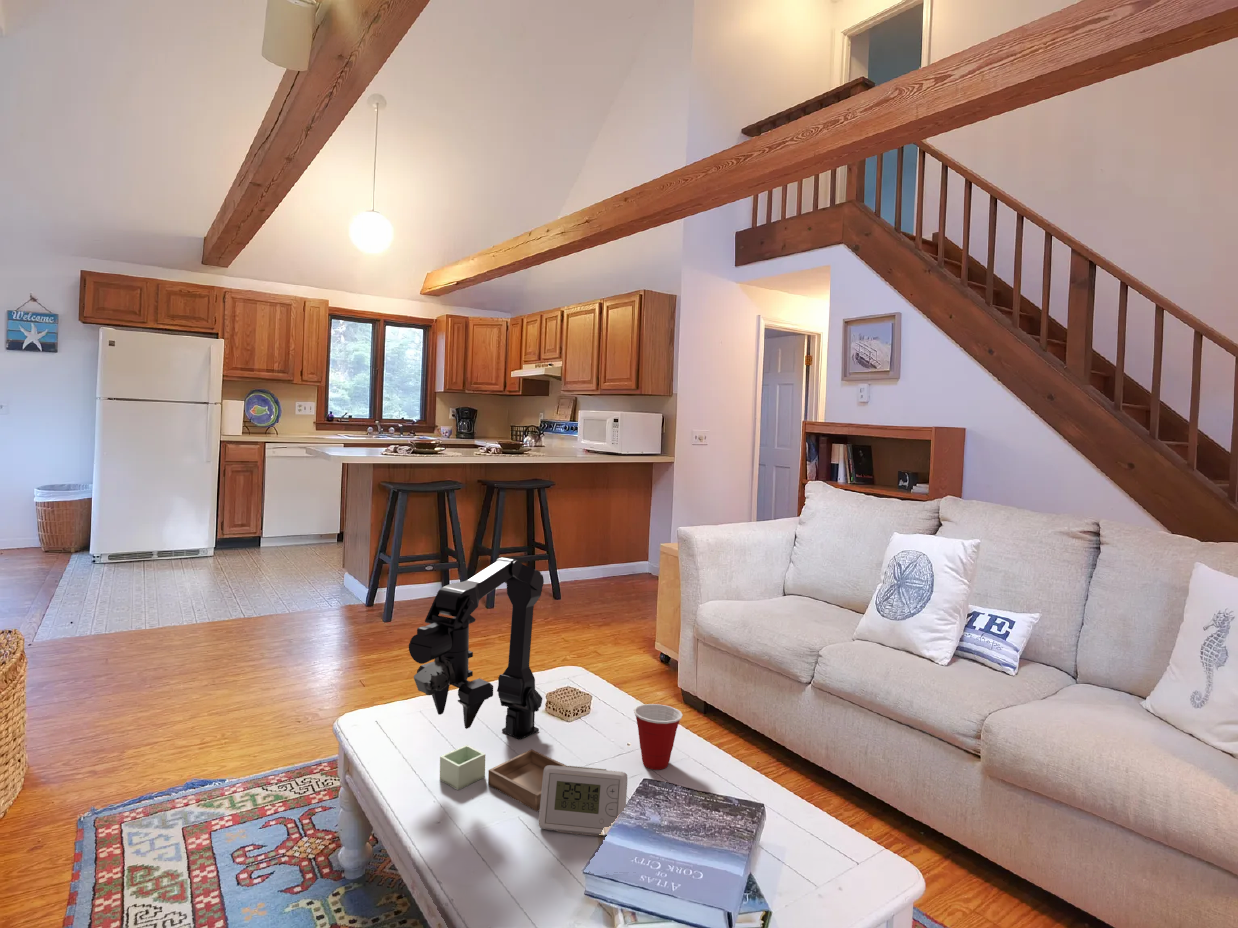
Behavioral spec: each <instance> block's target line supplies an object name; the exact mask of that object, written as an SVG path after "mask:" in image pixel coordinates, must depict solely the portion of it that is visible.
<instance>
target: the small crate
mask: <svg viewBox="0 0 1238 928" xmlns="http://www.w3.org/2000/svg"><path fill="white" fill-rule="evenodd" d="M485 777H486V753H484V752H482V751H480V750H478V749H476V748H475V747H472V746H470V745H469V744H466V745H463V746H461V747H459V748H456V749H454V750H452V751H449V752H447V753H445V754H443V755H440V756H439V781H441V782H443V783H444V784H446V785H448V786H450V787H452V788H453V789H455V790H457V791H460V790H461V789H464V788H466V787H468V786H470V785H471V784H474V783H477V782H478V781H480V780H482V779H484V778H485Z"/></svg>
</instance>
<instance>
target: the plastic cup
mask: <svg viewBox="0 0 1238 928" xmlns="http://www.w3.org/2000/svg"><path fill="white" fill-rule="evenodd" d="M633 712H634V715H635V719H636V724H637V732H638V740H639V749H640V752H641V761H642V763H643V764H642V765H643V766H644V767H645V768H648V769H650V770H657V771H659V770H664V769H666V768H667V767H668V766H669V763H670V760H671V755H672V751H673V748H674V743H675V740H676V739H675V738H676V734H677V729H678V727H679V723H680V721H681V720H682V718H683V715H684V714H683V713H682V711H681V710H679V709H677V708H675V707H673V706H670V705H664V704H659V703H657V704H656V703H648V704H647V703H646V704H641V705H637V706H635V708H634V709H633Z"/></svg>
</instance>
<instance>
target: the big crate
mask: <svg viewBox="0 0 1238 928" xmlns="http://www.w3.org/2000/svg"><path fill="white" fill-rule="evenodd" d="M548 765H554V766H565V767H566V766H567V764H564V763H562V762H560V761H558V760H556V759H554V758H551V757H549V756H547V755H544V754H543V753H540V752H538V751H537V750H534V749H529V750H527V751H525V752H523V753H520V754H519V755H517V756H515V757H512V758H510V759H508V760H507V761H505V762H502V763H500V764H498V765H495V766H494V767H492V768H490V769H488V775H487V778H488V779H487V785H488V786H489V787H491V788H493V789H494V790H496V791H498V792H499V793H501V794H504V795H505V796H508V797H509V798H511V799H513V800H514V801H517V802H518V803H520V804H522V805H524V806H526V807H527V808H529V809H532V810H534V811H535V812H538V811H539V812H540V801H541V791H542V780H543V772H544V768H545V767H546V766H548Z"/></svg>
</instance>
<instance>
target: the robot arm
mask: <svg viewBox="0 0 1238 928" xmlns="http://www.w3.org/2000/svg"><path fill="white" fill-rule="evenodd" d="M543 575H544V574H542V573H541V571H540V570H538V569H533V568H531V567H529V566H527V565H525V564H524V563H522V562H521V561H519V560H518V559H516V558H508V557H504V556H503V557H498V558H497V559H496V561H495V562H494V563H492V564H490V565H489V566H487V567H486V568H484V569H482V570H480V571H479V572H478V573H476V574H475V575H473V576H472V577H470V578H469V579H466V580H464V581H459V582H453V583H449V584H447V585H445V586H442V587H441V588H440V589H439V590H438V591H437V592H436V593H437V594H436V595H435V597H434V600H433V601H432V604H431V606H430V608H429V611H428V613H427V615H426V617H425V619H424V623H426V624H427V625H425V626H424V625H423V626H420V627H418V628H417V629H416V634H414V635H413V636H412V637H411V639H410V640H409V643H408V651H409V652H408V653H409V655H410V657H411V658H412V659H413V661H415V662H416V663H418V664H422V665H420V666H419V667H418V669H417V671H416V674H414V675H413V680H414V683H415V686H416V688H417V691H418V692H421V693H424V694H425V695H426V696H431V698H432V700H433V703H434V706H435V709H436V712H437V714H438V715H440V716H441V715H442V714H444V712H445V709H446V705H447V701H448V695H449V691H450V686H454V687H455V688H457V689H458V690H457V696H458V698H459V699H457V703H459V704H460V705H462V712H463V723H464V724H463V725H464V729H466V730H467V729H470V728H471V726H472V724H473V723H474V720H475V718H476V716H477V714H478V712H479V711H480V708H481V707H482V705H483V704H484V702H485V701H486V700H489V698H492V697H493V696H494V685H493V684H492V683H490V682H489V681H486V680H485V679H482V678H480V677H479V678H476V679H473V680H471V681H469V680H468V678H471V677H473V675H474V673H473V672H474V671H472V670H470V669H469V659H470V658H473V657H474V652H473V651H471V650H469V649H470V648H469V647H470V646H469V644H470V643H469V642H470V641H469V639H470V637H469V636H470V635H469V634H470V633H469V632H470V631H469V630H470V624H473V623H475V622H476V618H475V617H474V616H473V615H472V614H473V612H475V610H477V608H479V604H480V601H481V600H482V599H483V598H484V597H486V596H487V595H488V594H490V593H491V592H493V591H494V590H495V589H497V588H499V586H501V585H502V584H506V594H507V596H508V599H509V601H510V604H511V606H512V609H511V610H512V613H511V621H510V622H511V623H510V634H509V636H510V637H509V648H508V649H509V650H508V651H509V652H508V660H507V661H508V664H507V667H506V669H505V670H504V671H503V673H500V674H499V675H498V678H497V679H498V681H497V682H498V685H497V689H496V692H497V695H498V698H499V701H500V706H502V707H506V708H507V709H506V715H505V727H504V728H501V732H502V733H505V734H507V735H509V736H510V737H512V738H513V737H514V738H516V739H518V740H522V739H524V738H527V737H529V736H531V735H533V734H535V733H537V732H540V728H539V727H537V726H535V716H536V715H535V712H539V711H540V708H541V707H542V702H543V697H542V696H541V694H540V693H539V692H538V691H537V690H536V679H535V676H534V674H533V672H532V670H531V667H530V660H531V659H530V658H531V643H532V633H533V632H532V630H533V621H534V620H533V619H534V607H535V605H536V603H537V601H538V600H539V599H540V598H541V596H542V591H543V587H544V582H545V581H544V576H543ZM440 614H441V615H440ZM443 615H445V616H443ZM449 616H450V617H449ZM433 660H434V661H433ZM430 661H431V662H430Z"/></svg>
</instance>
